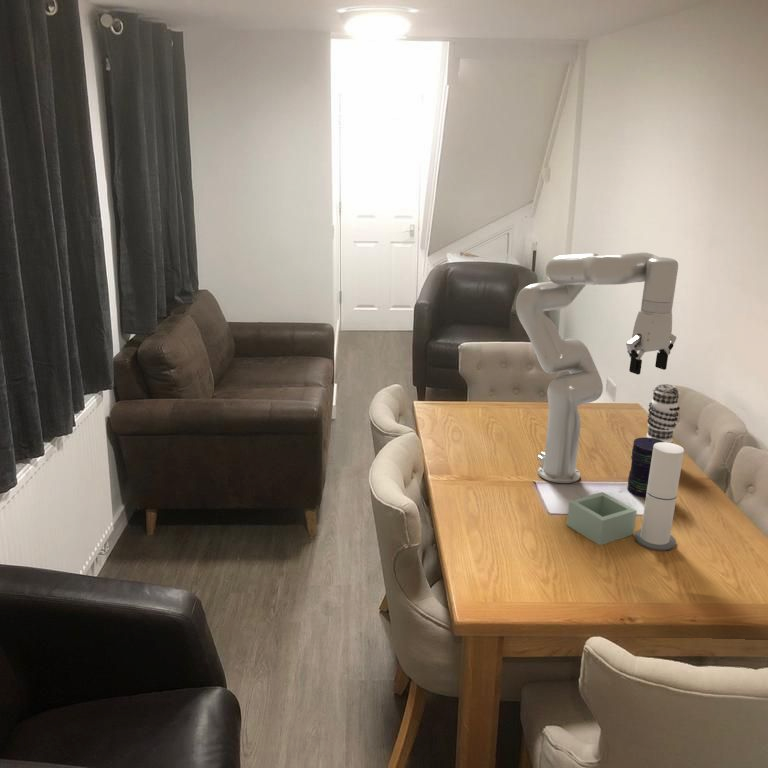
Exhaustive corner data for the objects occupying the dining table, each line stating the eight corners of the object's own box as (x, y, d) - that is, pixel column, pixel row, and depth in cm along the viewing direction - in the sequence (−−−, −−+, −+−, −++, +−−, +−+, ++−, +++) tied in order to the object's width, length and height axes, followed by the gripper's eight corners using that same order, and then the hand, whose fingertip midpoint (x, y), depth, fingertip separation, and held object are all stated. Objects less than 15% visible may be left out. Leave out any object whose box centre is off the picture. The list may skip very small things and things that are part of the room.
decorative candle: (667, 455, 255) (678, 382, 247) (674, 467, 246) (686, 392, 238) (638, 453, 255) (648, 381, 248) (644, 465, 247) (655, 390, 239)
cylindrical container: (650, 546, 197) (664, 454, 189) (634, 532, 203) (647, 443, 196) (675, 543, 199) (690, 452, 191) (658, 529, 205) (672, 441, 197)
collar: (566, 525, 208) (569, 501, 206) (599, 515, 214) (602, 492, 212) (599, 545, 198) (602, 520, 196) (633, 534, 204) (636, 510, 202)
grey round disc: (626, 536, 203) (626, 534, 202) (653, 528, 208) (653, 525, 207) (656, 554, 195) (657, 551, 194) (683, 545, 199) (684, 542, 199)
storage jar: (664, 500, 224) (671, 452, 219) (628, 496, 225) (635, 448, 221) (659, 485, 233) (666, 439, 228) (625, 482, 235) (631, 435, 230)
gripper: (668, 301, 207) (659, 362, 212) (621, 306, 199) (613, 371, 204) (691, 306, 201) (681, 370, 206) (644, 312, 193) (635, 379, 198)
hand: (647, 370), depth 205 cm, fingers open, 9 cm apart
